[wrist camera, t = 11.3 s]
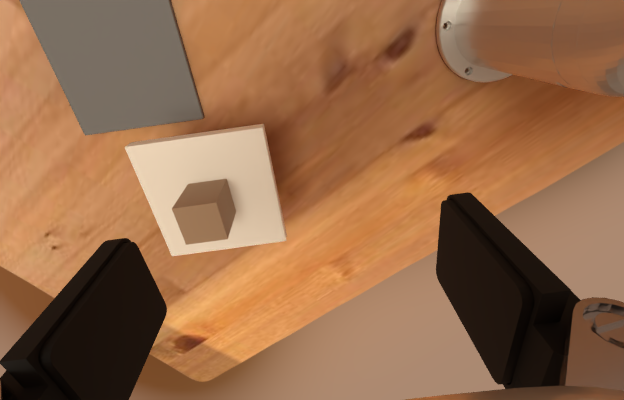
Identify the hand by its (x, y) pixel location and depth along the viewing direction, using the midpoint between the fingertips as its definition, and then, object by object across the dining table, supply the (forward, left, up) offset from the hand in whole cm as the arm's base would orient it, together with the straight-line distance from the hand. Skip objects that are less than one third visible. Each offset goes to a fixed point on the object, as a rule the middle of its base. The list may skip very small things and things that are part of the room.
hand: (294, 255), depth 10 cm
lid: (+9, +7, -20) cm, 23 cm away
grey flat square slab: (+18, -5, -30) cm, 36 cm away
